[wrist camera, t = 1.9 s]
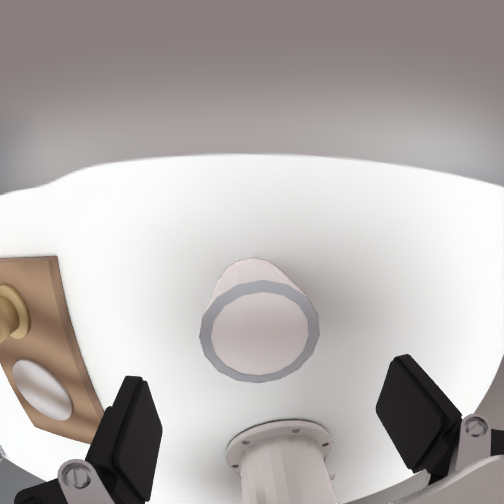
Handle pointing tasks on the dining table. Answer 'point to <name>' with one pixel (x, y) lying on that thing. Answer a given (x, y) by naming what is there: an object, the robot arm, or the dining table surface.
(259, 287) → the white short cylinder
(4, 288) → the fitting board
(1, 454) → the light bulb box
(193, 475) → the dining table surface
